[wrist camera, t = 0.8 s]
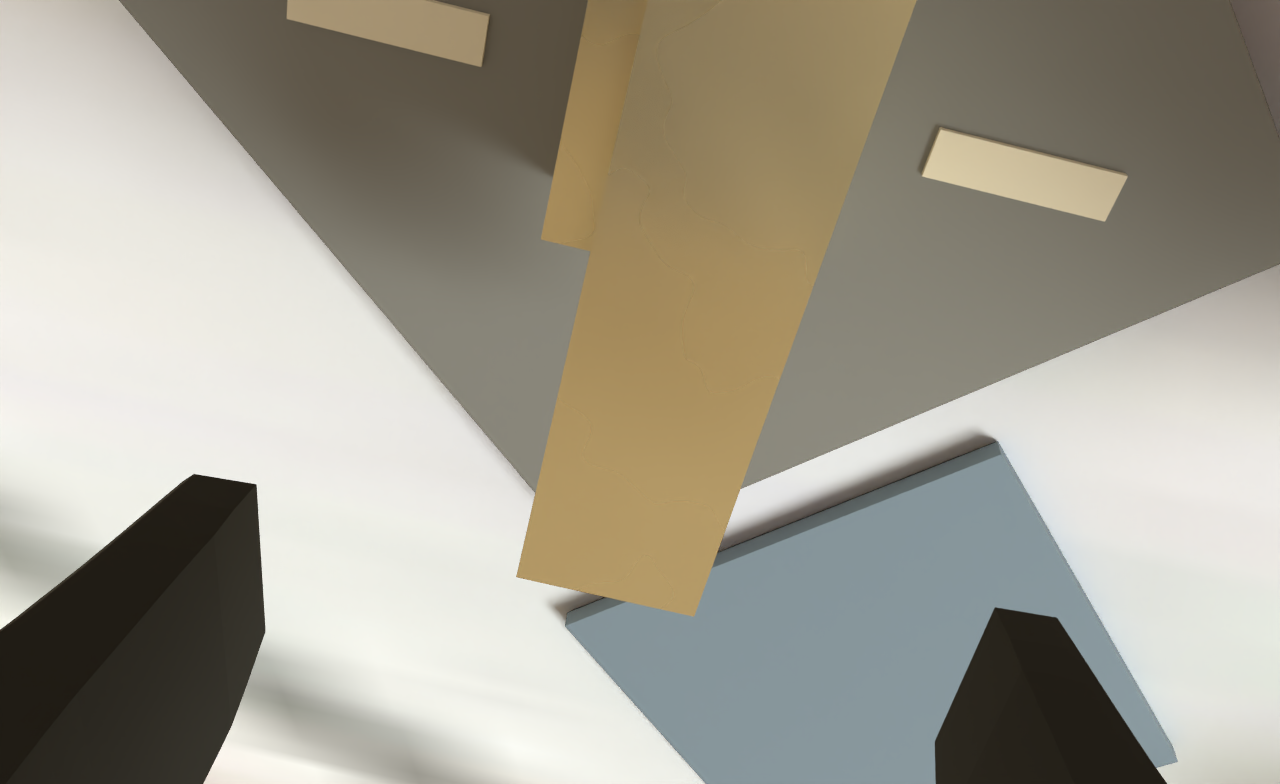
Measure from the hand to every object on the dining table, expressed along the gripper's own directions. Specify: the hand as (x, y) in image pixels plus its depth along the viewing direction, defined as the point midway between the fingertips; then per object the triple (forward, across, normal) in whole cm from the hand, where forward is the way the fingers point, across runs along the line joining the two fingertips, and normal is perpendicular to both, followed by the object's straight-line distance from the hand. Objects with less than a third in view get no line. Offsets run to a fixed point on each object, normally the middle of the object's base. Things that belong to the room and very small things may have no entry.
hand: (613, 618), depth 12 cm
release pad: (+10, -6, +12) cm, 17 cm away
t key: (+9, 0, -2) cm, 9 cm away
